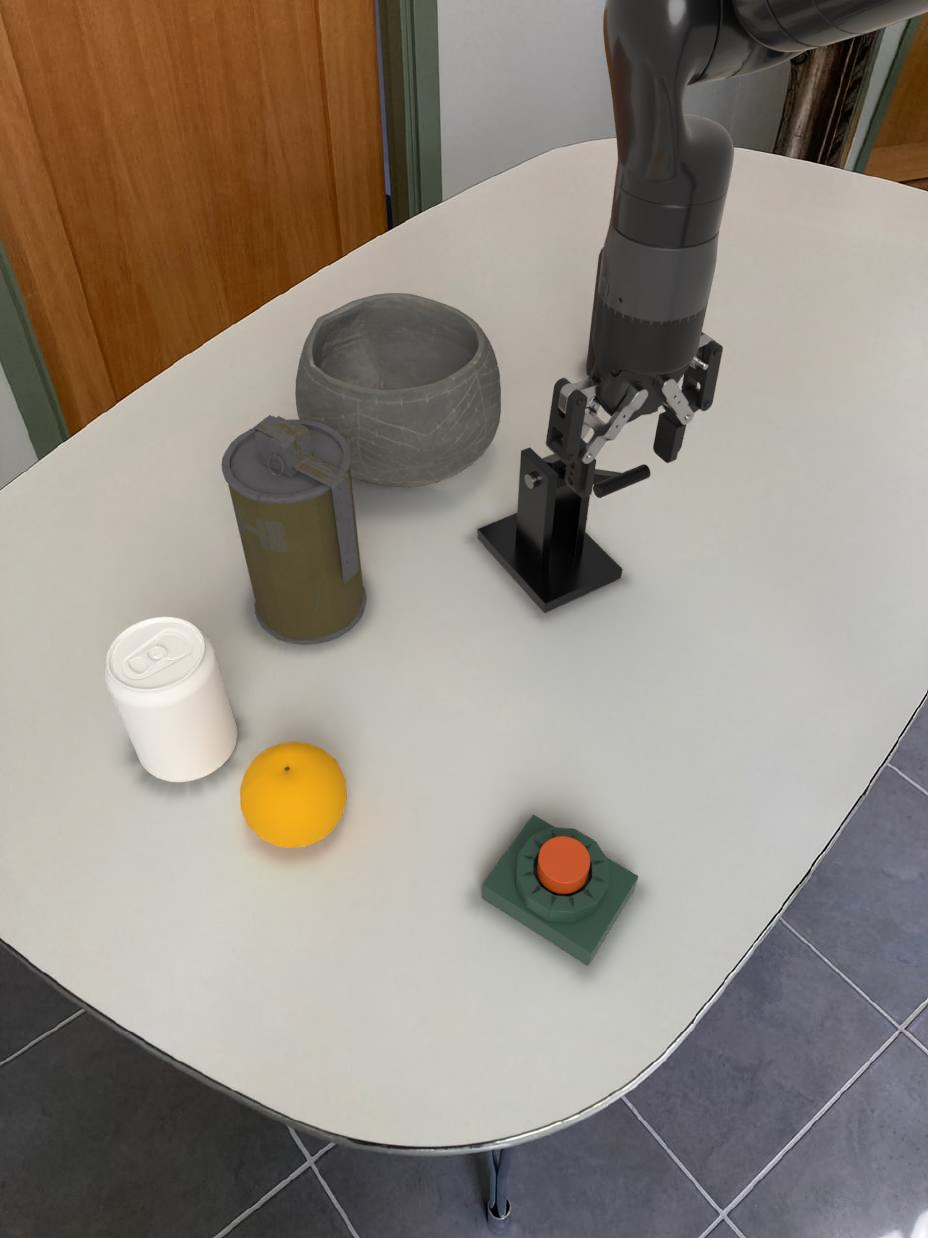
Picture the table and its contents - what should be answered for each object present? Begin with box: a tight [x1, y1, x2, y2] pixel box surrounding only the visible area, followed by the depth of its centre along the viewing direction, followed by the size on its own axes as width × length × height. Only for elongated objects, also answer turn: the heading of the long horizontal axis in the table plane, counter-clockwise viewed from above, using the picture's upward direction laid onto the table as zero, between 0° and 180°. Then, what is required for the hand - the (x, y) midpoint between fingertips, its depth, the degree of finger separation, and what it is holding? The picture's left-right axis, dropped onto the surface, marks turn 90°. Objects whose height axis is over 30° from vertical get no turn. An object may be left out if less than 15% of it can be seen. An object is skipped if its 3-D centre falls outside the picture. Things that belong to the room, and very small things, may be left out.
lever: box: [541, 453, 651, 499], centre depth 82 cm, size 12×5×2 cm
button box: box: [481, 814, 639, 967], centre depth 69 cm, size 9×7×4 cm
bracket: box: [477, 436, 623, 614], centre depth 90 cm, size 12×9×13 cm
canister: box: [220, 414, 367, 645], centre depth 83 cm, size 11×10×20 cm
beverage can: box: [103, 616, 238, 783], centre depth 75 cm, size 8×8×12 cm
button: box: [537, 836, 590, 894], centre depth 67 cm, size 4×4×2 cm
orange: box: [239, 741, 348, 849], centre depth 72 cm, size 8×8×8 cm
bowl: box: [294, 292, 502, 488], centre depth 99 cm, size 21×21×15 cm
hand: (622, 473), depth 77 cm, fingers open, 8 cm apart
